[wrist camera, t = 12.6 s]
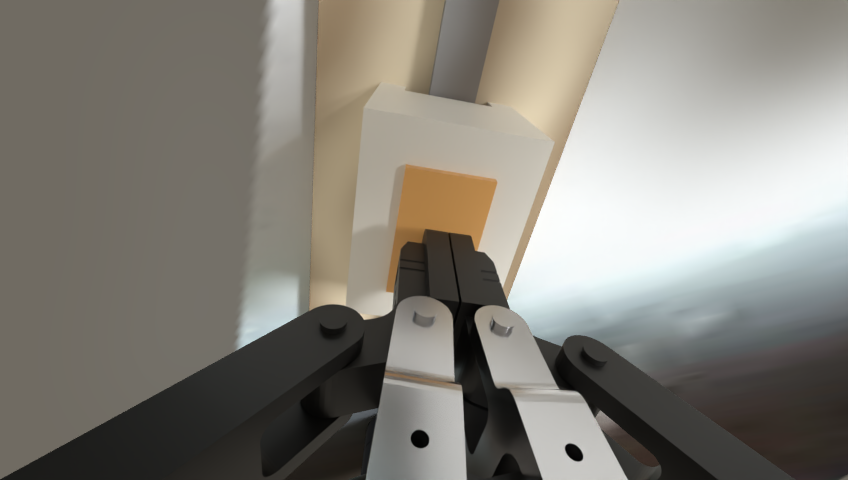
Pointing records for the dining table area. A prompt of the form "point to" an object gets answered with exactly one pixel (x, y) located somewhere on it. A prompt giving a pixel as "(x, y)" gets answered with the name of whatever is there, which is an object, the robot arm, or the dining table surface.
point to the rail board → (439, 90)
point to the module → (438, 183)
